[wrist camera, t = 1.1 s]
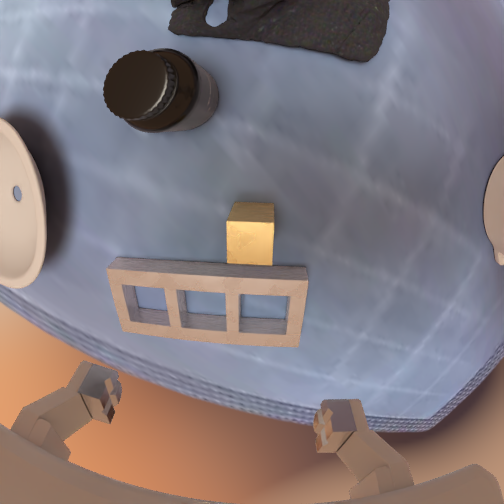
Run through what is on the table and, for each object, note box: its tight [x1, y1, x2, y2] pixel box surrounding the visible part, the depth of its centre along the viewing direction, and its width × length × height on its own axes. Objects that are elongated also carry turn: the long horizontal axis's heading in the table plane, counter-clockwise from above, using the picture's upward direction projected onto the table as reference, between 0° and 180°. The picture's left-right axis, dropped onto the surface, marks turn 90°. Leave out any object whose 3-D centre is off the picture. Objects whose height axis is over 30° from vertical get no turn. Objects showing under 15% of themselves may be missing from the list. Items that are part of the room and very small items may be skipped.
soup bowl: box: [0, 118, 47, 288], centre depth 27 cm, size 24×24×7 cm
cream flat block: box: [106, 257, 309, 347], centre depth 34 cm, size 23×10×3 cm, turn 89°
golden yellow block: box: [227, 202, 274, 265], centre depth 28 cm, size 4×4×6 cm
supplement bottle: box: [103, 48, 219, 133], centre depth 20 cm, size 7×7×12 cm
